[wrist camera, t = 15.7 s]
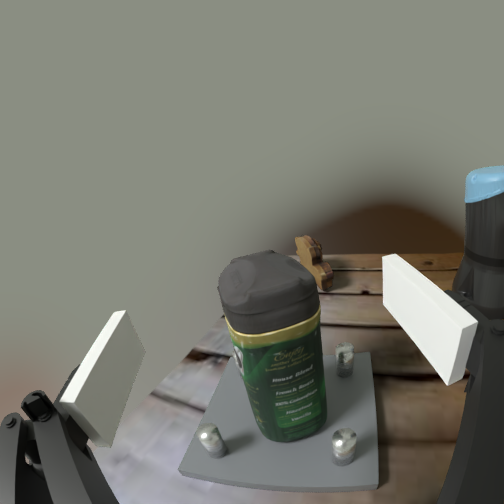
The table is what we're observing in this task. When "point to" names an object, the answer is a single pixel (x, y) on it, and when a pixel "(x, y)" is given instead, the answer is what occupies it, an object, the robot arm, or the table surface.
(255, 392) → the coffee jar
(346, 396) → the base plate
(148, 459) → the table surface
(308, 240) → the wooden carving
